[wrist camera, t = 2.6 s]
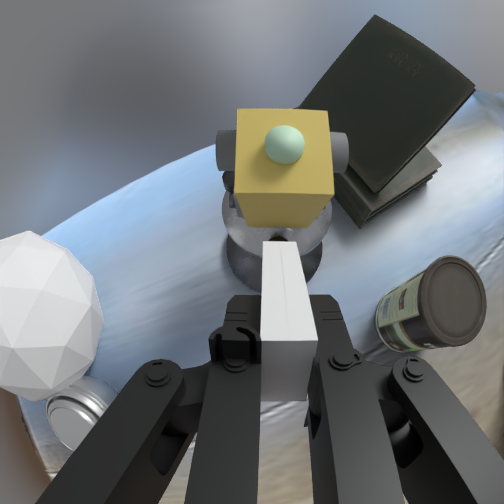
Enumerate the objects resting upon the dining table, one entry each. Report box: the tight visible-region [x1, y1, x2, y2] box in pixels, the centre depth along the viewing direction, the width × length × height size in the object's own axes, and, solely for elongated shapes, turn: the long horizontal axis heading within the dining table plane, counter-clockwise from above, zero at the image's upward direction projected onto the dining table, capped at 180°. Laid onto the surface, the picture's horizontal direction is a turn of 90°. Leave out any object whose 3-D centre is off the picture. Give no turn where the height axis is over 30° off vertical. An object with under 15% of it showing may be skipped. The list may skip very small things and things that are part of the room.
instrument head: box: [216, 109, 349, 228], centre depth 23 cm, size 6×9×13 cm, turn 88°
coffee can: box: [375, 256, 487, 352], centre depth 32 cm, size 10×10×14 cm
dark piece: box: [293, 15, 476, 229], centre depth 37 cm, size 23×20×25 cm
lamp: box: [0, 231, 118, 451], centre depth 30 cm, size 22×34×24 cm, turn 29°
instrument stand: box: [222, 171, 332, 293], centre depth 35 cm, size 14×14×17 cm
